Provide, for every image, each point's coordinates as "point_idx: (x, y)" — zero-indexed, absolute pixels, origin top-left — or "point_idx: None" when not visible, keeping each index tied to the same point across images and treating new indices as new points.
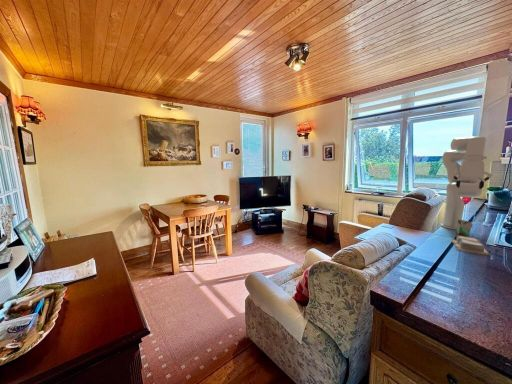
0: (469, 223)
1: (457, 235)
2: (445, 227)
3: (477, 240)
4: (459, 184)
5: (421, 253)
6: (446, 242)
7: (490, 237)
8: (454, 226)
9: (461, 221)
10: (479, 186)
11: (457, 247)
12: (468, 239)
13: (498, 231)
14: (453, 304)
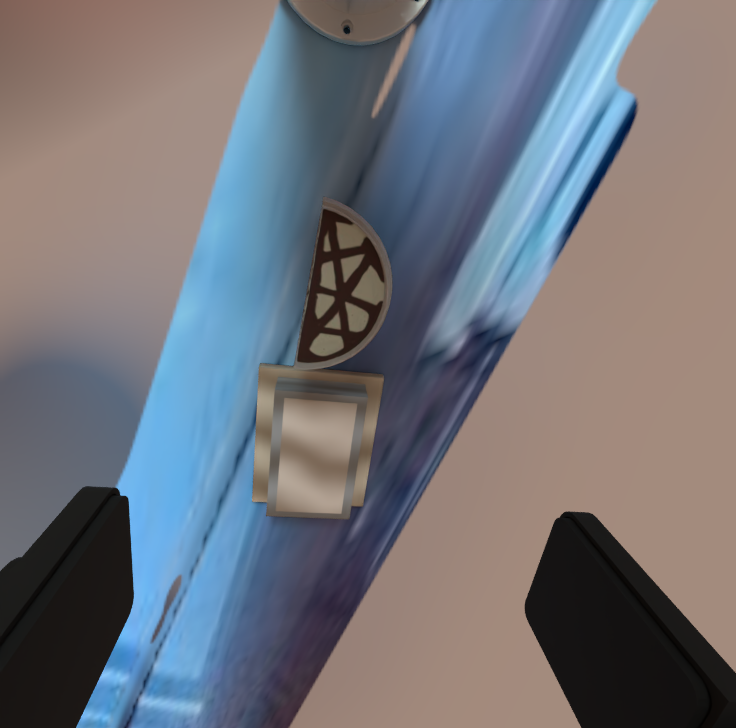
0: (382, 277)
1: (277, 393)
2: (293, 7)
3: (355, 441)
4: (75, 701)
5: None
6: (227, 407)
7: (521, 178)
8: (358, 11)
9: (342, 229)
10: (574, 583)
11: (254, 490)
12: (313, 446)
13: None
14: None
